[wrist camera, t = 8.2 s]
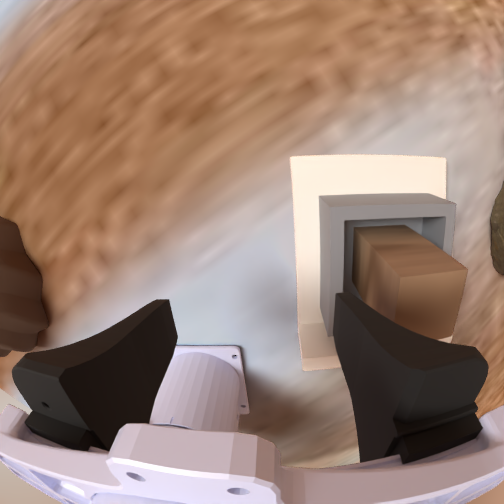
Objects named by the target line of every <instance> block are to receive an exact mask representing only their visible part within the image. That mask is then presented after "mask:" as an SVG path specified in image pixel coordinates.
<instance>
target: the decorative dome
mask: <svg viewBox="0 0 504 504" xmlns="http://www.w3.org/2000/svg"><path fill="white" fill-rule="evenodd" d="M42 282H43V281H42V277H41V275H40V273H39V272H38V271H37V269H36V268H35V267H34V265H33V264H32V262H31V261H30V259H29V258H28V257H27V255H26V253H25V250H24V246H23V243H22V240H21V236H20V232H19V229H18V226H17V225H16V224H15V223H13V222H11V221H9V220H6V219H4V218H2V217H0V357H5V356H7V355H8V354H9V353H10V352H11V351H12V350H14V351H20V352H27V351H30V350H32V349H33V348H34V347H35V346H36V342H37V335H38V332H39V331H41V330H43V329H45V328H47V327H48V326H49V322H48V320H47V317H46V314H45V311H44V308H43V306H42V303H41V294H42Z"/></svg>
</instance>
